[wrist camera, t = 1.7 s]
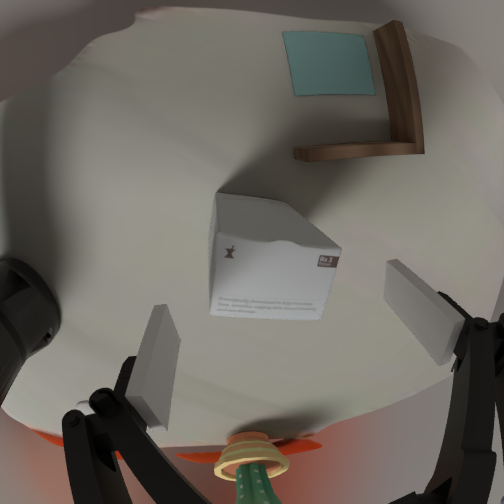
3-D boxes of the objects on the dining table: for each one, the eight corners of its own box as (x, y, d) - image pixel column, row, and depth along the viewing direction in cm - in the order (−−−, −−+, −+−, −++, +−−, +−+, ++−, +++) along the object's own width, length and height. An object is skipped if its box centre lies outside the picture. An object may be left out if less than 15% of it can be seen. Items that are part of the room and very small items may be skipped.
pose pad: (294, 96, 26) (295, 95, 26) (282, 32, 23) (283, 31, 22) (374, 95, 26) (375, 94, 26) (362, 36, 23) (363, 35, 23)
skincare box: (208, 240, 31) (200, 319, 18) (215, 188, 29) (210, 231, 15) (280, 249, 33) (320, 327, 19) (291, 199, 30) (346, 249, 17)
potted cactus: (278, 417, 46) (304, 530, 23) (287, 446, 52) (308, 535, 29) (202, 429, 46) (205, 540, 23) (223, 457, 52) (231, 545, 29)
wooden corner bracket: (295, 158, 29) (309, 162, 24) (271, 26, 22) (281, 7, 18) (400, 150, 29) (424, 154, 24) (380, 32, 23) (401, 21, 18)
